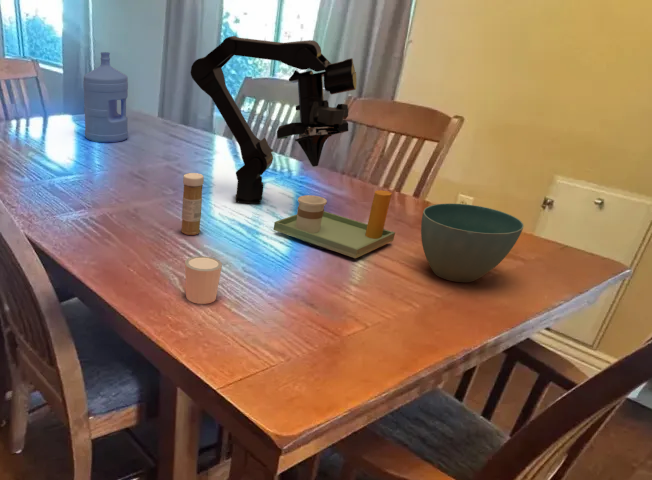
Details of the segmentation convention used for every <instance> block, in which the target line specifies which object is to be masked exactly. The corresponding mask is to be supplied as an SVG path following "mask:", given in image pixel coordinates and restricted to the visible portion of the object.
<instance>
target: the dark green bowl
mask: <svg viewBox="0 0 652 480" xmlns="http://www.w3.org/2000/svg"><path fill="white" fill-rule="evenodd" d="M524 227H525V225H524V223H523V222H522V221H521V220H520V219H519V218H517V217H515V216H514V215H512V214H509V213H506V212H504V211H501V210H498V209H495V208H490V207H486V206H480V205H474V204H467V203H454V202H453V203H452V202H451V203H450V202H449V203H436V204H432V205H429V206H426V207H424V209H423V211H422V215H421V223H420V238H421V245H422V250H423V253H424V256H425V259H426V262H427V263H428V265H429V267H430V269H431V270H432V272H433V273H434V274H435V276H437V277H439V278H441V279H444V280H447V281H450V282H455V283H472V282H475V281H477V280H480V279H481V278H482V277H484V276H485V275H487V274H488V273H490V272H491V271H492V270H494V269H495V268H496V267H497V266H498V265H499V264H500V263H501V262H503V260H505V258H506V257H507V256H508V255H509V253H510V252H511V250H512V249H513V247H514V246H515V245H516V243H517V242H518V240H519V238H520V236H521V234H522V233H523V229H524Z"/></svg>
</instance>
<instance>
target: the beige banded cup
mask: <svg viewBox="0 0 652 480" xmlns="http://www.w3.org/2000/svg"><path fill="white" fill-rule="evenodd" d="M297 202H298V206H297V210H296V214H297V221H296V227H295V228H297V229H300V230H303V231H306V232H309V233H317V232H319V231H320V226H321V221H322V217H323V213H324V211H325V209H324V208H325V206H326V205H327V202H328V201H327V199H326V198H324V197H322V196H319V195H310V194H309V195H308V194H307V195H301V196H298V198H297Z"/></svg>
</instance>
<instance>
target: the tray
mask: <svg viewBox="0 0 652 480" xmlns="http://www.w3.org/2000/svg"><path fill="white" fill-rule="evenodd" d="M392 195H393V193H392V192H391V191H389V190H382V189H381V190H380V189H377V190H375V191H374V193H373V197H372V202H371V207H370V211H369V216H368V221H367V223H365V222H362V221H358V220H354V219H353V218H348V217H346V216H341V215H339V214H336V213H332V212H328V211H326V210H324V213H323V217H322V221H321V226H320V231H319V232H317V233H309V232H306V231H303V230H300V229H297V228H295V227H296V221H297V213H296V214H293V215H290V216H287V217H285V218H282V219H279V220H277V221H274V223H273V231H275V232H278V233H280V234H284V235H287V236H289V237H292V238H296V239H298V240H301V241H303V240H304V241H307V242H310V243H312V244H315V245H318V246H321V247H324V248H327V249H330V250H329V251H333V252H336V253H339V254H342V255H344V256H347V257H349V258H353V259H357V258H359V257H361V256H363V255H364V256H365V255H366V254H368V253H370V252H373V251H374V250H376V249H379V248H382V247H384V246H385V245H387V244H389V243H392V242H394V240H395V235H396V232H395V231H393V230H392V231H391V230H389V229H385V225H386V220H387V215H388V212H389V207H390V203H391V199H392ZM304 241H303V242H304Z"/></svg>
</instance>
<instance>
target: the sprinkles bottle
mask: <svg viewBox="0 0 652 480" xmlns="http://www.w3.org/2000/svg"><path fill="white" fill-rule="evenodd" d="M204 178H205V177H204V175H203V174H201V173H197V172H189V173H185V174H184V175H183V178H182V179H183V180H182V184H183V194H182V207H181V208H182V209H181V229H180V232H181V233H182V234H184V235H188V236H195V235H198V234H200V232H201V230H200V228H201V218H202V206H203V205H202V204H203V186H204V182H205V181H204V180H205V179H204Z"/></svg>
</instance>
